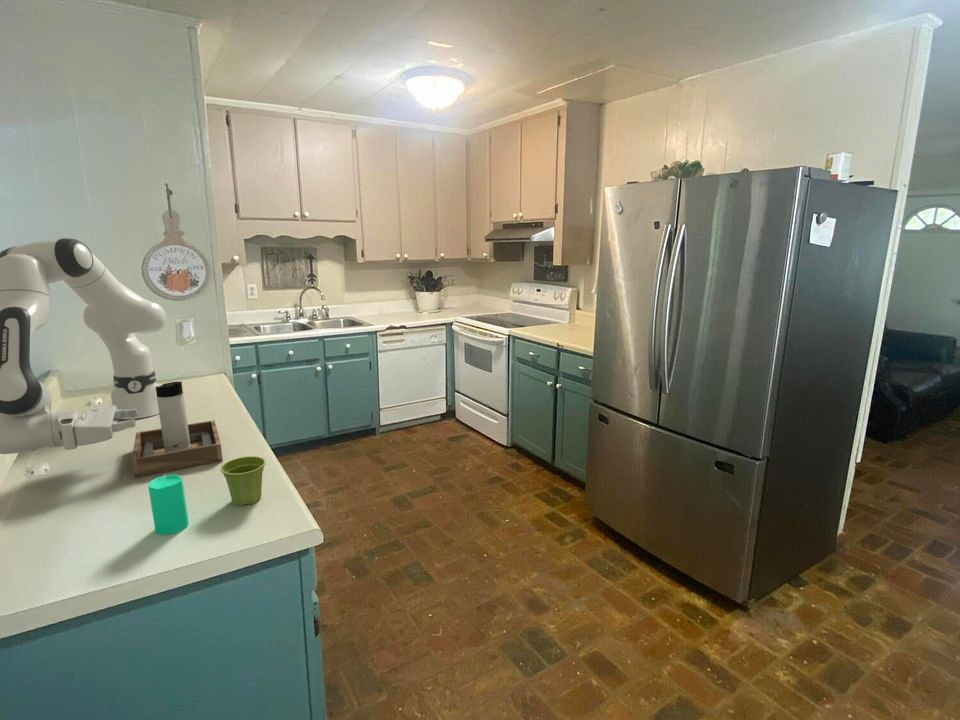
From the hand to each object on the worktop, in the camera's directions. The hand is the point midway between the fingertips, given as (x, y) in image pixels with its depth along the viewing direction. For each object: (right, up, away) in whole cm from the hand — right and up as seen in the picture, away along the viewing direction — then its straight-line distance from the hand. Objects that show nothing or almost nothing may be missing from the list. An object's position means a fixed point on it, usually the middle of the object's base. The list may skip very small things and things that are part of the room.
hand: (136, 417), depth 136 cm
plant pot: (+37, -17, -17) cm, 44 cm away
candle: (+27, -20, -29) cm, 44 cm away
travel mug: (+7, -11, +7) cm, 15 cm away
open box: (+7, -11, +7) cm, 15 cm away
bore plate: (+7, -11, +7) cm, 15 cm away
